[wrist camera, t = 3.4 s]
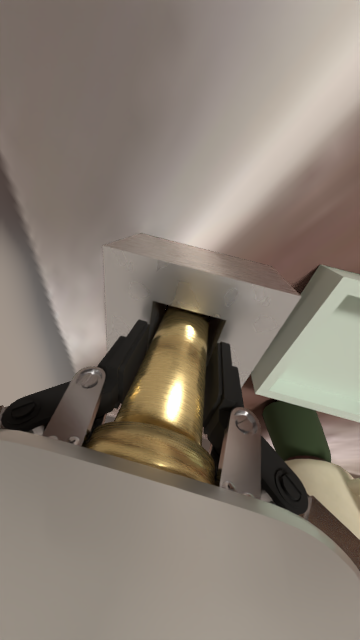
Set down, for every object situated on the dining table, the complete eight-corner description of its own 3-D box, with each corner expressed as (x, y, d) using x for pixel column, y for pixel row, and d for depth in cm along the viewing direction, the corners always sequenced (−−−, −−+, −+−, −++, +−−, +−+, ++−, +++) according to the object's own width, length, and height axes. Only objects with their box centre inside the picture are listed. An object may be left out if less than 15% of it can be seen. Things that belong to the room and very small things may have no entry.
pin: (172, 273, 16) (56, 451, 4) (221, 286, 16) (240, 506, 4) (165, 314, 19) (79, 498, 7) (207, 325, 18) (193, 532, 7)
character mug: (278, 434, 27) (321, 587, 16) (238, 416, 26) (256, 564, 15) (345, 401, 21) (486, 607, 10) (297, 376, 20) (393, 571, 9)
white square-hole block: (140, 233, 15) (102, 245, 10) (271, 266, 14) (301, 296, 9) (134, 326, 20) (107, 365, 15) (228, 352, 20) (233, 400, 15)
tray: (320, 264, 14) (343, 276, 11) (501, 310, 13) (569, 333, 11) (250, 371, 21) (255, 393, 18) (367, 403, 20) (388, 430, 18)
